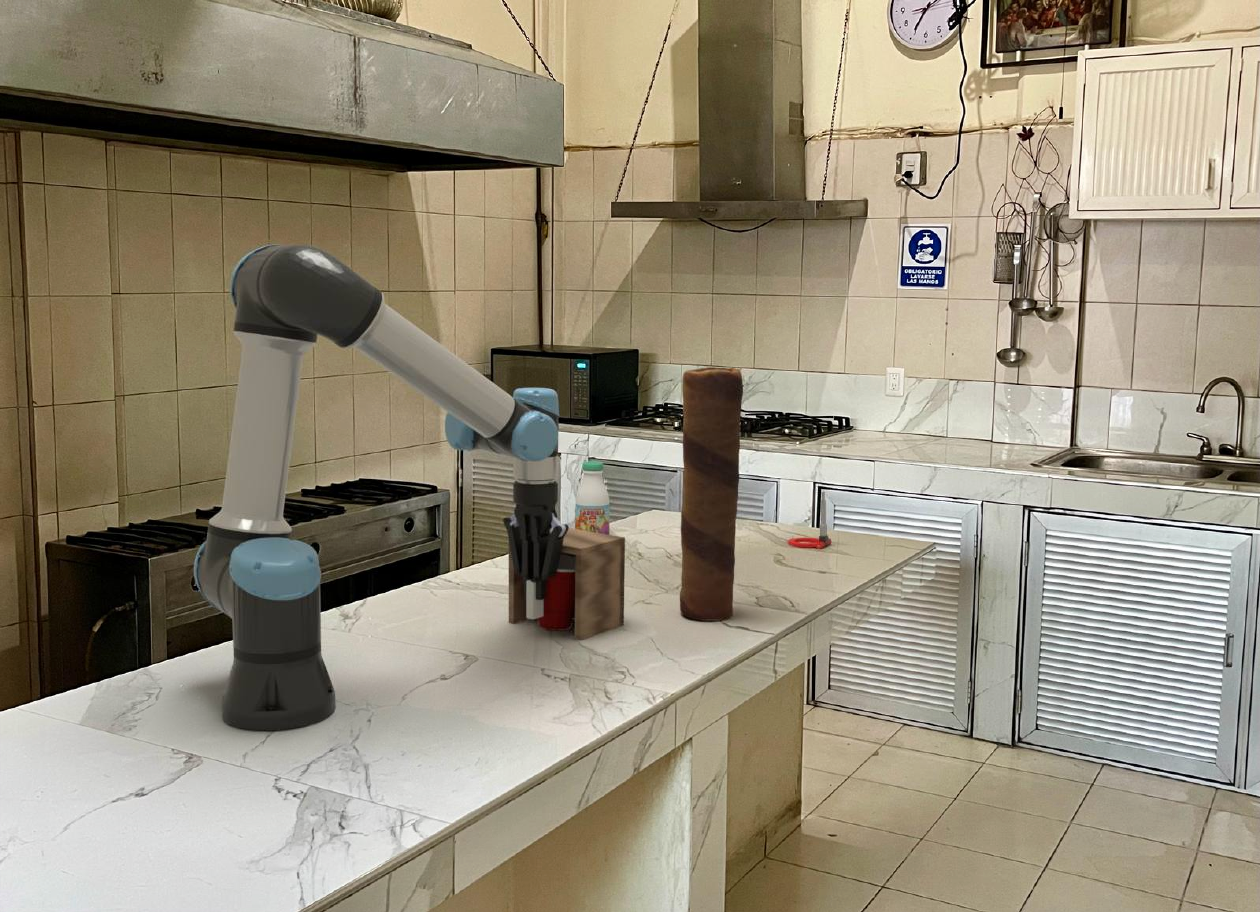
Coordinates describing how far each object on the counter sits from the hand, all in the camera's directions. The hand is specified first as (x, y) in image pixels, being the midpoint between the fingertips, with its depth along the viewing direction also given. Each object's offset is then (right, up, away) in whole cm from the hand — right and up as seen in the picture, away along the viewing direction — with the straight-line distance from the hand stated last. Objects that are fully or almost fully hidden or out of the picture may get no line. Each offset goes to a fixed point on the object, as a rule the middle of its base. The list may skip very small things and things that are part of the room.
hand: (534, 617), depth 206 cm
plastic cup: (+3, -3, +5) cm, 7 cm away
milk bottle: (+8, +6, +66) cm, 67 cm away
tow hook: (+58, +7, +76) cm, 95 cm away
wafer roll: (+30, -2, +14) cm, 34 cm away
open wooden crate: (+5, -2, +7) cm, 9 cm away
